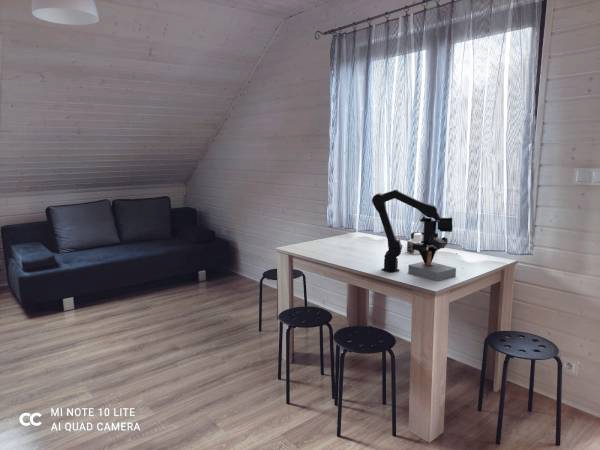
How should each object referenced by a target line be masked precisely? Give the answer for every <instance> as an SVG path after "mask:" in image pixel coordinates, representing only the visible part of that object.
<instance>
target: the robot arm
mask: <svg viewBox="0 0 600 450" xmlns="http://www.w3.org/2000/svg"><path fill="white" fill-rule="evenodd" d="M394 199H395V200H397V201H399V202H402V203H403V204H406V205H407V206H409V207H412V208H414V209H416V210H417V211H419V213H421V214H422V215H423V216H422V217H421V218H420V220H419V222H422V223H423V230H422V231H423V232H420V233H421V235H422V240H421V243H423V244H421V243H414V244H412V249H413V250H417V251H419V252H420V254H419V255H420V256H421V258H422V262H424V263H427V257H428V252H429V251H432V256H431V262H433V260H434V257H435V255H436V253H437V252H438V251H439V250H441V249H445V247H446V246H447V245H448V237H446V236H444V237H440V236H439V234H438V233H437V230H438V231H439V232H440V233H441V232H443V233H445V232H446V233H453V217H441V216H440V215H439V213H438V209H437V207H436V205H434V204H431V203H428V202H424V201H420V200H417V199H416V198H414V197H411V196H409V195H407V194H405V193H403V192H402V191H399V190H398V189H393V190H391V191H388V192H385V193H380V192H378V193H375V194H374V195H373V197H372V199H371V203H372V204H373V207H374V209H375V210H376V211H377V213H378V215H379V218H380V221H381V224H382V228H383V229H384V233H385V236H386V239H387V247H388V250H387V251H386V252H385V254H384V257H383V259H384V262H383V263H384V264H383V268H381V271H384V272H387V273H395V272H399V271H400V269H398V266H399V265H398V264H399V263H398V262H399V261H398V260H399V259H398V257H400V256H401V254H402V249H403V244H402V243H401V239H400V238H399V239H397V237H396V235H395V232H394V229H393V225H392V223H391V219H390V218H389V217H390V216H389V214H388V211H387V202H389V201H392V200H394Z"/></svg>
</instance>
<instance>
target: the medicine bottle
mask: <svg viewBox="0 0 600 450" xmlns="http://www.w3.org/2000/svg"><path fill="white" fill-rule="evenodd" d="M421 233H422V232H417V231H415V232H411V233H410V239H408V240H407V242H406V252H407V253H409V254H410V255H413V256H415V255H421V254H420V252H419V251H417V250H413V249H412V244H414V243H421V241H422V238H423V235H421ZM421 244H423V243H421Z"/></svg>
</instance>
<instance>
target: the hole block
mask: <svg viewBox="0 0 600 450" xmlns="http://www.w3.org/2000/svg"><path fill="white" fill-rule="evenodd" d="M407 272H408V274H411V275H414V276H418V277H422V278H424V279H429V280H431V281H434V282H438V281H439V282H440V281H442V280H447V279H450V278H455V277H456V275H457V267H453V266H449V265H446V264H441V263H437V262H433V261H432V262H431V267H426V266H425V263H424V261H419V262H416V263H411V264H408V271H407Z"/></svg>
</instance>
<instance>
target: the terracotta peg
mask: <svg viewBox="0 0 600 450" xmlns="http://www.w3.org/2000/svg"><path fill="white" fill-rule="evenodd" d="M431 256H432V251H429V252H428V257H427V263H425V266H426V267H431Z"/></svg>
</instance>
